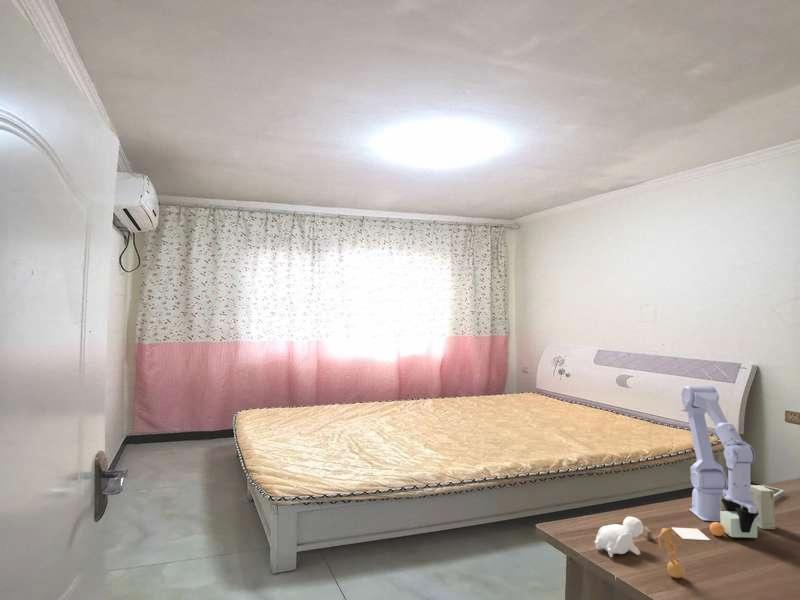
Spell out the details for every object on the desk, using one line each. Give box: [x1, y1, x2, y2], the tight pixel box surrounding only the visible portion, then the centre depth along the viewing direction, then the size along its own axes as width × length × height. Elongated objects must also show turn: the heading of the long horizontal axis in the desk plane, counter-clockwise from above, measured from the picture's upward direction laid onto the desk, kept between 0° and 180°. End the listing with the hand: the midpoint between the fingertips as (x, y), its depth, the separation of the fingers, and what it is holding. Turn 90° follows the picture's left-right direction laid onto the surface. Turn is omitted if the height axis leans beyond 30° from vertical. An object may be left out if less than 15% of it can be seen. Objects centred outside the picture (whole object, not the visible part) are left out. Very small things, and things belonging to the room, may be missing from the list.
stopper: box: [632, 515, 653, 541], centre depth 159 cm, size 12×1×2 cm, turn 175°
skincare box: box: [750, 484, 776, 530], centre depth 165 cm, size 6×4×12 cm
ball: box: [709, 521, 725, 537], centre depth 157 cm, size 4×4×4 cm
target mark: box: [670, 527, 711, 541], centre depth 157 cm, size 8×8×1 cm
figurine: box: [657, 527, 685, 579], centre depth 132 cm, size 8×6×12 cm
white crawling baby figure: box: [593, 516, 643, 558], centre depth 146 cm, size 9×8×15 cm
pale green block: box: [719, 510, 758, 539], centre depth 156 cm, size 6×8×6 cm
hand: (739, 527), depth 156 cm, fingers closed on pale green block, 6 cm apart
